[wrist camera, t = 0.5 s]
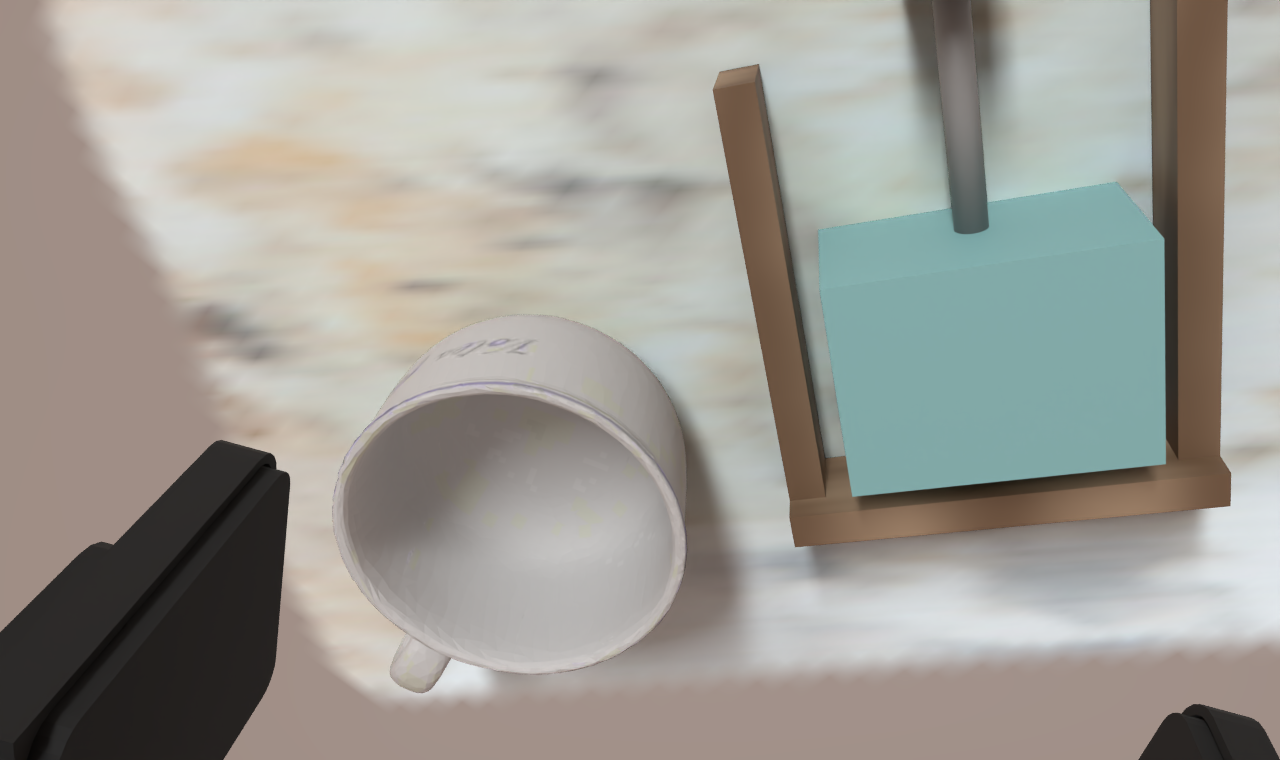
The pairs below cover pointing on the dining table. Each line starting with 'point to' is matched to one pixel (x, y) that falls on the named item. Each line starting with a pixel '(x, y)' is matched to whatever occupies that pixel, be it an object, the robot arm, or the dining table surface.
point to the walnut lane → (1193, 256)
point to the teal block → (994, 322)
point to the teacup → (517, 502)
